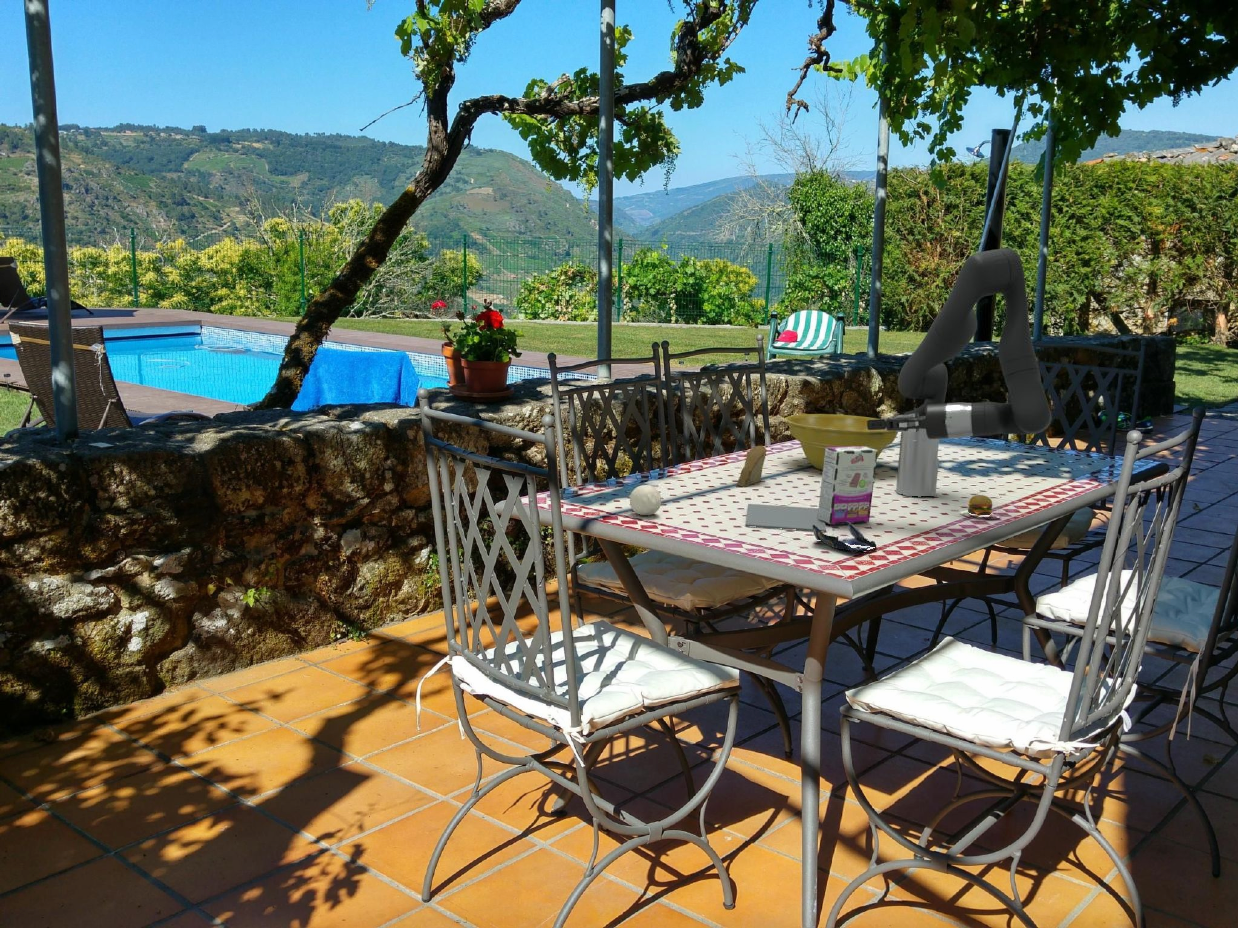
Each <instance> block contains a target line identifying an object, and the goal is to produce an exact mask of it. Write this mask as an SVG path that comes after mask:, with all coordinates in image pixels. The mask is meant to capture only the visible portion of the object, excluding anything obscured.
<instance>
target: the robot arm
mask: <svg viewBox="0 0 1238 928" xmlns="http://www.w3.org/2000/svg"><path fill="white" fill-rule="evenodd" d="M1024 271H1025V270H1024V266H1023V264H1022V260H1021V258H1020V255H1019V254H1018V253H1017V252H1016V250H1014V249H1012V248H1010V247H1009V248H1007V247H1006V248H999V249H998V248H997V249H991V250H986V251H985V250H984V251H980V252H975V253H973V254H971V255H970V256H969V257H967V259H965V261H964V263H963V265H962V267H961V269H960V271H959V273H958V275H957V278H956V280H955V283H954V285H953V287H952V289H951V291H950V294H949V295H948V297H947V298H946V301H945V303H944V305H943V307H942V308H941V309H940V311H939V313H938V314H937V315H936V317H935V319H934V321H932V324H931V325H930V327H929V329H928V331H927V333H926V335H925V336H924V338H923V339H922V340H921V342H920V343H919V345H918V347H917V348H916V349H915V350H914V352H913V353H912V354H911V355H910V356H909V358H908V359H907V360H906V361H905V362H904V364H903V366H902V368H901V370H900V372H899V375H898V378H897V379H898V380H897V388H898V391H899V393H900V394H901V395H902V396H903V397H905V398H908V399H913V400H916V399H917V400H918V399H919V400H924V403H923V404H922V405H920V406H919V407H917V408H914V409H912V410H909V411H906V412H905V413H904V414H898V415H895V416H891V417H886V418H876V419H873V420H868V421H867V428H868V430H882V429H885V430H887V431H897V432H898V433H899V432H900V443H899V452H898V454H899V455H898V465H897V476H896V485H895V486H896V487H895V489H896V491H895V492H896V493H897V494H899V495H901V494H903V495H902V496H907V497H912V496H918V497H917V498H922V497H921V496H935V497H936V496H937V495H936V494H937V483H938V473H939V464H940V463H939V462H940V459H939V458H938V455H939V454H938V453H939V444H940V440H944V439H962V438H968V437H978V436H979V437H983V436H994V435H1001V434H1002V435H1036V434H1041V433H1042V432H1044V431H1045V430H1047V429H1048V428H1049V426H1050V424H1051V423H1052V419H1053V418H1052V417H1053V416H1052V412H1051V408H1050V405H1049V402H1048V399H1047V396H1046V393H1045V389H1044V386H1043V384H1042V378H1041V371H1040V367H1039V364H1038V359H1037V356H1036V353H1035V349H1034V345H1033V341H1032V336H1031V328H1030V319H1029V317H1030V316H1029V307H1028V298H1027V297H1028V296H1027V290H1026V277H1025V272H1024ZM999 294H1002V295H1003V299H1004V302H1005V311H1006V312H1005V320H1004V324H1003V327H1002V332H1001V336H1000V339H999V343H998V350H997V351H998V352H997V353H998V359H999V360H998V361H999V365H1000V368H1001V371H1002V376H1003V377H1004V383H1005V384H1006V387H1007V389H1008V395H1009V399H1010V402H1003V403H1000V402H994V401H985V402H984V401H983V402H946V403H945V401H946V397H947V396H946V393H947V390H948V389H947V388H948V378H949V376H948V369H947V367H946V365H945V364H944V363H945V362H947V361H950V360H951V359H953V358H955V357H956V356H958V355H960V354H961V352H963V351H964V350H965V349H966V348H967V346H969V345H968V344H969V343H970V342H971V341H972V339H973V338H974V336H975V335H976V334H975V333H976V332H977V329H978V319H977V315H976V312H975V310H974V307H975V306H976V304H977V303H978V302H979V301H980V299H982V298H984V297H987V296H993V295H999Z"/></svg>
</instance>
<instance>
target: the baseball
mask: <svg viewBox="0 0 1238 928" xmlns="http://www.w3.org/2000/svg"><path fill="white" fill-rule="evenodd" d="M629 505H630V507H631V509H632V510H633V512H634V513H636V514H637V515H639V514H640V516H643V515H648V516H652V515H654V514H656V513H657V512H658V511H659V510H660V508H661V505H662V496H661V493H660V492H659V491H658V489H657V488H656V487H654V486H652V485H648V484H644V485H643V484H642V485H638V486H637V487H635V488H634V489H633V490H632V492H631V493H630V496H629Z"/></svg>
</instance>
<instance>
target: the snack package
mask: <svg viewBox="0 0 1238 928" xmlns="http://www.w3.org/2000/svg"><path fill="white" fill-rule="evenodd" d="M843 522H844V521H843ZM846 523H847V525H848V530H849V532H850V534H851V535H852V538H848V537H847V538H846V537H845V538H842V539H839V536H838V535H837V536H834V535H827V534H825V533H824V532H821V531H820V530H819V529H818V528H817V527H816V526H815V525H813V531H812V532H813V535H814V537H815V539H816V541H817V540H821V541H823V543H825V544H826V545H829V546H830V547H832V548H834V549H840V550H844V549H849V550H848V551H850V552H852V553H853V554H855V553H857V552H859V551H862V552H863V551H872V550H873V551H874V549H875V550H877V544H876V541H873V540H872V541H869V540H868V539H867V538H866V537H865V536H864V535H863V533H862V532H861V531H860V529H858V528H857V527H856V526H855V525H854V524H853V523H850V522H848V520H847V521H846ZM834 525H837V524H836V523H835V524H834ZM832 531H833V532H834V531H836V530H835V529H832ZM845 543H848V544H850V545H854V544H855V545H861V546H870V547H875V548H873V549H870V550H867V549H868V548H870V547H867V548H861V549H858V548H851V547H850V546H848V545H846V544H845ZM873 551H872V552H873Z"/></svg>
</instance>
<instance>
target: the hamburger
mask: <svg viewBox="0 0 1238 928" xmlns="http://www.w3.org/2000/svg"><path fill="white" fill-rule="evenodd" d="M967 506H968V507H967V510H968V512H969V513H971V514H977V515H990V514H991V513H992V512H993V501H992V499H991V498H990V497H989V496H987V495H983V494H976V495H975V494H974V495H972V496H971V497H970V498H969V501H968V503H967ZM969 513H968V514H969ZM992 514H993V513H992ZM990 516H991V515H990Z"/></svg>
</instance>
